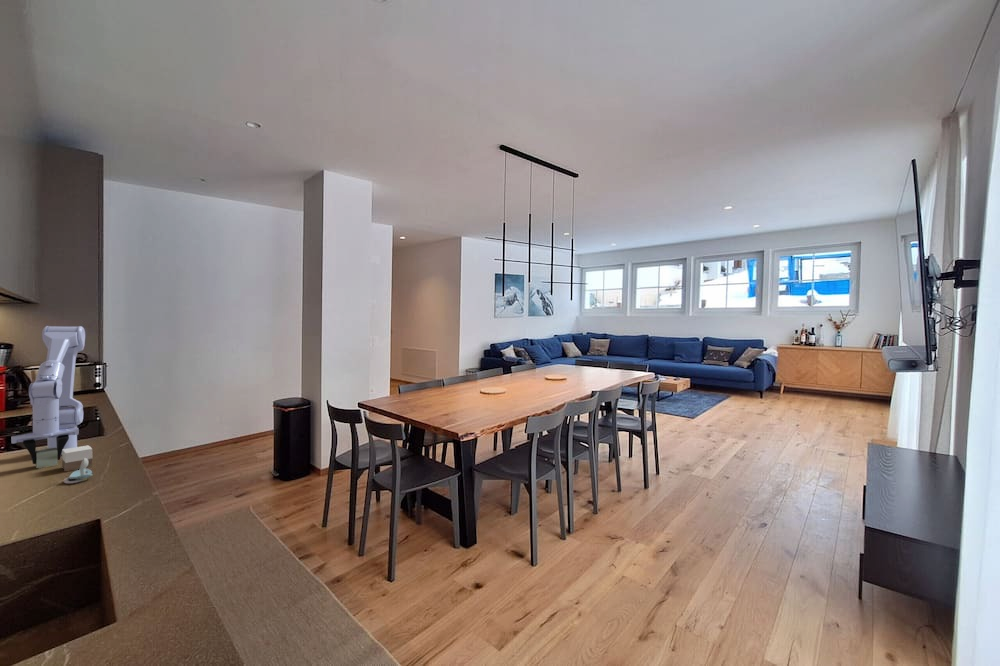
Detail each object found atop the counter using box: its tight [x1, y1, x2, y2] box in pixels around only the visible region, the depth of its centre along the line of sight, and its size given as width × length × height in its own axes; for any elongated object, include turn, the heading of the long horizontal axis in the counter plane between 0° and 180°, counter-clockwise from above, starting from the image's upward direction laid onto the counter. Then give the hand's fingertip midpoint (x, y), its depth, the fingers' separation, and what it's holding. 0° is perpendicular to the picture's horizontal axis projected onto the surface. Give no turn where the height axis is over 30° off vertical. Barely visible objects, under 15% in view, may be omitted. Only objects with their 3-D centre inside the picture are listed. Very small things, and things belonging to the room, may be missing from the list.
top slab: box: [61, 444, 93, 463], centre depth 134 cm, size 6×6×3 cm
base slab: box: [61, 457, 93, 472], centre depth 134 cm, size 6×6×3 cm
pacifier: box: [63, 458, 94, 485], centre depth 124 cm, size 7×6×6 cm
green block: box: [34, 447, 59, 469], centre depth 135 cm, size 4×4×5 cm
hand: (46, 461), depth 135 cm, fingers closed on green block, 4 cm apart
